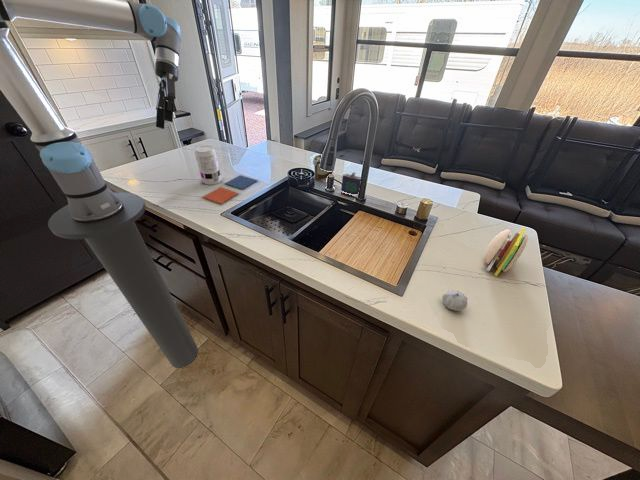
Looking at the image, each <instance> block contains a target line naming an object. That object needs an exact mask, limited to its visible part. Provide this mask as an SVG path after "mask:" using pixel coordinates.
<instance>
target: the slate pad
mask: <svg viewBox="0 0 640 480" xmlns="http://www.w3.org/2000/svg"><path fill="white" fill-rule="evenodd" d="M257 182H258V180H257V179H254V178H250V177H247V176H243V175H241V174H240V175H238V176H236V177H235V178H233V179H230V180H229V181H226V183H224V184H225V185H227V186H229V187H233V188H235V189H239V190H243V191H244V190H245V189H247V188H249V187H250V186H252V185H253V184H255V183H257Z"/></svg>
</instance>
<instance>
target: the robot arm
mask: <svg viewBox="0 0 640 480" xmlns="http://www.w3.org/2000/svg"><path fill="white" fill-rule="evenodd" d="M17 18H19V19H26V20H33V21H34V20H35V21H41V22H49V23H55V24H56V23H57V24H62V25H63V24H64V25H72V26H77V27H78V26H79V27H86V28H93V29H101V30H106V31H107V30H108V31H115V32H123V33H129V34H135V35H138V36H140V37H142V38H144V39H146V40H148V41H150V42H151V43H154V44H155V57H154V61H155V62H154V74H155V75H156V76H157V77H159V78H160V80H159V81H158V90H157V98H156V105H155V110H156V119H155V127H156V128H159V129H163V130H165V121H167V122H170V123H172V122H173V121H174V105H175V104H174V103H175V100H176V98H177V97H176V85H175V84H176V82H178V81H179V66H181V62H180V51H181V43H182V42H181V41H182V38H181V37H182V33H181V27H180V25H179V23H178V22H177V21H175V20H174V19H173V18H171V17H168V16H166V15H164V14H163V12H162V10H160V8H159V7H157V6H155V5H154V4H151V3H146V2H145V3H144V2H143V3H140V2H135V1H130V0H0V91H1V92H2V94H3V95H4V97H5V98H6V100H7V101H8V102H9V103H10V105H11V106H12V107H13V109H14V110H15V111H16V113H17V114H18V115H19V117H20V118H21V120H22V121H23V122H24V124H25V125H26V126H27V128H28V129H29V130H30V132H31V136H30V141H31V142H32V143H33V145H34V147H35V148H36V149H37V150H38V151H39V157H40V159H41V162H42V163H43V165H44V166H45V167H46V168H47V170H48V171H49V173H50V174H51V176H52V177H53V179H54V180H55V182H56V183H57V185H58V186H59V188H60V190H61V192H63V194H64V195H65V197H66V199H67V205H69V211H70V215H71V216H72V218H73V219H74V220H75V221H77V222H81V223H91V222H98V221H102V220H105V219H108V218H111V217H113V216H115V215H116V214H118V213H119V212H121V211H122V209H123V207H124V205H123V203H122V201H121V200H120V199H119V198H118V197H117V196H116V195H115V194H114V193H115V192H114V191H113V190H111V189H110V188H109V186H108V185H107V183H106V181H105V179H104V177H103V175H102V173H101V172H100V170H99V168H98V166H97V164H96V162H95V161H94V158H93V155H92V153H91V152H90V151H89V149H88V148H87V146H85V145H83V143H82V141H81V140H80V138H79V136H78V135H77V133H76V132H75V130H73V129H72V128H69V127H67V126H66V125H65V124H64V123H63V120H62V119H61V118H60V116H59V115H58V113H57V111H56V110H55V109H54V107H53V105H52V104H51V102H50V101H49V100H48V98H47V96H46V95H45V93H44V92H43V91H42V89H41V88H40V86H39V84H38V82H37V81H36V80H35V78H34V77H33V75H32V73H31V72H30V70H29V68H28V66H26V64H25V62H24V61H23V59H22V58H21V56H20V55H19V53H18V52H17V50H16V49H15V47H14V45H13V44H12V42H11V41H10V40H9V38H8V35H9V32H10V28H9V26H8V25H7V23H6V22H13V21H15V19H17Z"/></svg>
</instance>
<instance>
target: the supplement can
mask: <svg viewBox="0 0 640 480" xmlns="http://www.w3.org/2000/svg"><path fill="white" fill-rule="evenodd" d="M194 155H195V160H196V163H197V167H198V171H199V174H200V178H201V181H202V183H203V184H204V185H208V186H212V185H217V184H219V183H220V182H221V181H222V176H221V175H222V174H221V172H220V167H219V162H218V157H217V153H216V150H215V149H214V147H213V146H211V145H203V146H202V145H201V146H198V147H196V148H195V151H194Z"/></svg>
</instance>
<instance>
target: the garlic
mask: <svg viewBox="0 0 640 480" xmlns="http://www.w3.org/2000/svg"><path fill="white" fill-rule="evenodd" d="M441 300H442V302H443V303H444V305H445V306H446V307H447V309H449V310H451V311H458V312H461V311H462V310H464V309H466V308H467V307H468V297H467V296H466V295H465V293H463V292H461V291H459V290H456V289H455V290H454V289H452V290H449V291H447V292H445V293H444V294H442V296H441Z"/></svg>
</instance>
